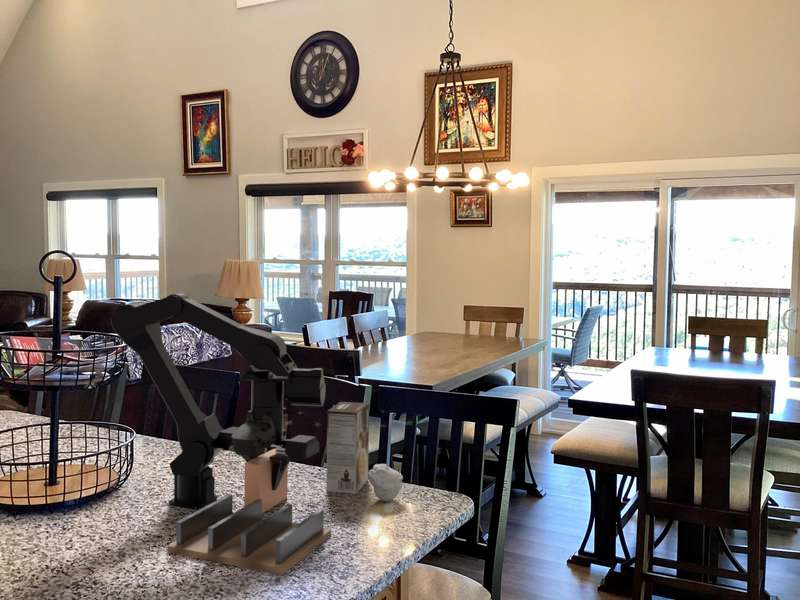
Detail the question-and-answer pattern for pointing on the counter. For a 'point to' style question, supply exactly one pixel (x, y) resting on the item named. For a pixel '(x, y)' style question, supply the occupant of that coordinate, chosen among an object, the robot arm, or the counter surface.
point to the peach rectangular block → (263, 482)
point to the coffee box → (347, 447)
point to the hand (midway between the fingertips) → (266, 488)
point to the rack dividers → (231, 525)
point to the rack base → (257, 560)
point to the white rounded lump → (385, 482)
